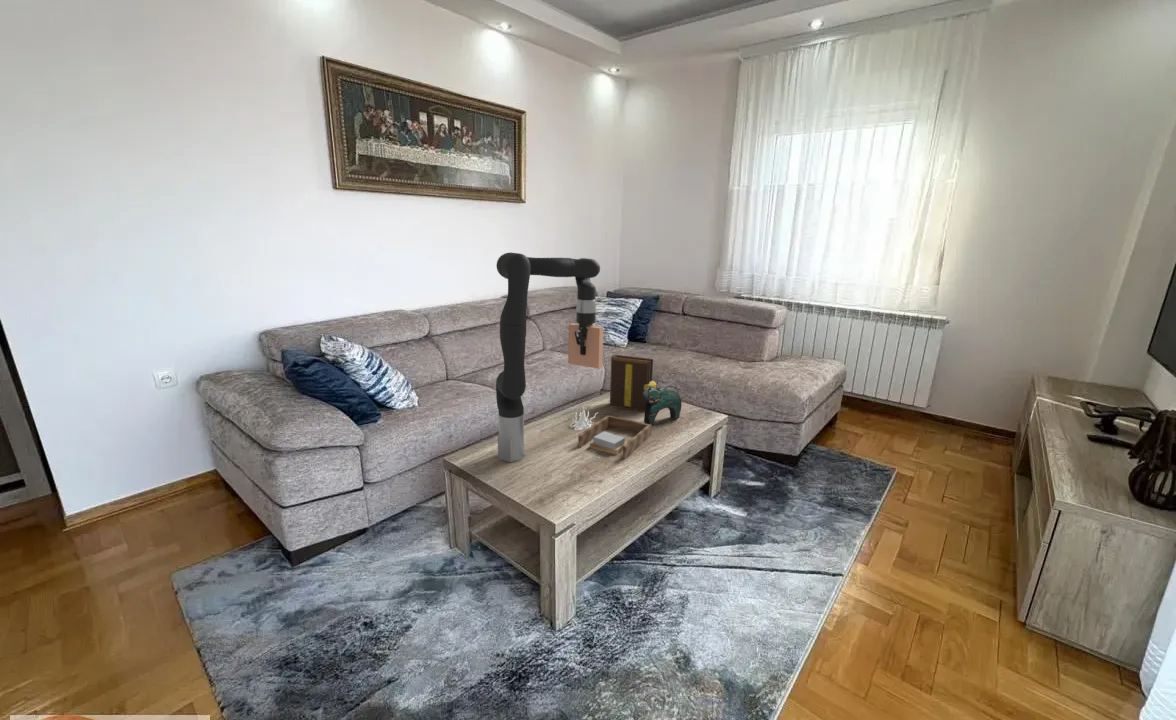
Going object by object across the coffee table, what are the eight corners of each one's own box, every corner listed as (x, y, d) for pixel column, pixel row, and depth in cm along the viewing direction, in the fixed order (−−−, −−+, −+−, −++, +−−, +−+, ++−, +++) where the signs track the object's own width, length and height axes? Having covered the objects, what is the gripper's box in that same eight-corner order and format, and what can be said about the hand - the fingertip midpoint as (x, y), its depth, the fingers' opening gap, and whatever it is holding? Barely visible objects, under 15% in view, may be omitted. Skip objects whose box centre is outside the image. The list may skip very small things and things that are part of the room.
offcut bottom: (617, 456, 187) (617, 450, 187) (589, 449, 193) (589, 443, 193) (627, 448, 195) (627, 442, 194) (600, 441, 201) (601, 435, 200)
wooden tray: (625, 459, 184) (625, 446, 182) (578, 446, 193) (578, 435, 192) (651, 435, 205) (651, 424, 204) (607, 426, 215) (607, 415, 213)
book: (607, 408, 237) (609, 357, 230) (613, 402, 244) (615, 353, 238) (652, 415, 229) (655, 363, 222) (656, 409, 236) (659, 358, 230)
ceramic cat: (646, 428, 213) (649, 384, 208) (638, 423, 218) (640, 380, 213) (682, 420, 222) (685, 378, 217) (673, 416, 228) (676, 374, 223)
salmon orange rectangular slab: (598, 368, 192) (599, 328, 188) (568, 363, 199) (568, 324, 195) (602, 366, 195) (603, 327, 191) (571, 361, 201) (572, 323, 197)
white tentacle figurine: (566, 426, 214) (566, 406, 212) (587, 420, 222) (588, 400, 219) (579, 432, 207) (579, 412, 205) (600, 426, 215) (601, 406, 213)
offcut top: (614, 449, 187) (614, 443, 187) (593, 442, 193) (593, 436, 193) (624, 443, 193) (624, 437, 192) (603, 437, 199) (604, 431, 198)
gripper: (585, 314, 183) (584, 358, 188) (603, 309, 195) (601, 351, 200) (568, 312, 187) (567, 356, 191) (586, 307, 199) (585, 349, 203)
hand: (585, 353), depth 196 cm, fingers closed on salmon orange rectangular slab, 3 cm apart
